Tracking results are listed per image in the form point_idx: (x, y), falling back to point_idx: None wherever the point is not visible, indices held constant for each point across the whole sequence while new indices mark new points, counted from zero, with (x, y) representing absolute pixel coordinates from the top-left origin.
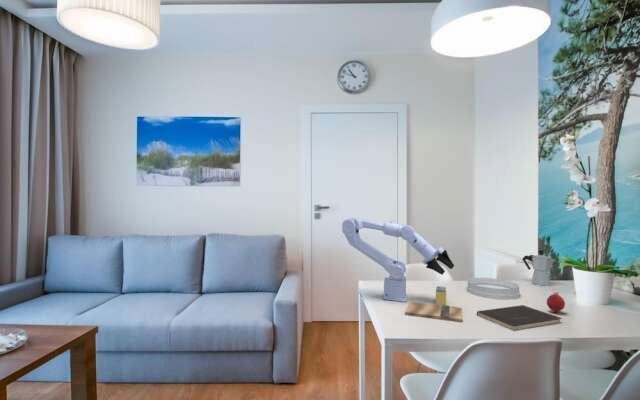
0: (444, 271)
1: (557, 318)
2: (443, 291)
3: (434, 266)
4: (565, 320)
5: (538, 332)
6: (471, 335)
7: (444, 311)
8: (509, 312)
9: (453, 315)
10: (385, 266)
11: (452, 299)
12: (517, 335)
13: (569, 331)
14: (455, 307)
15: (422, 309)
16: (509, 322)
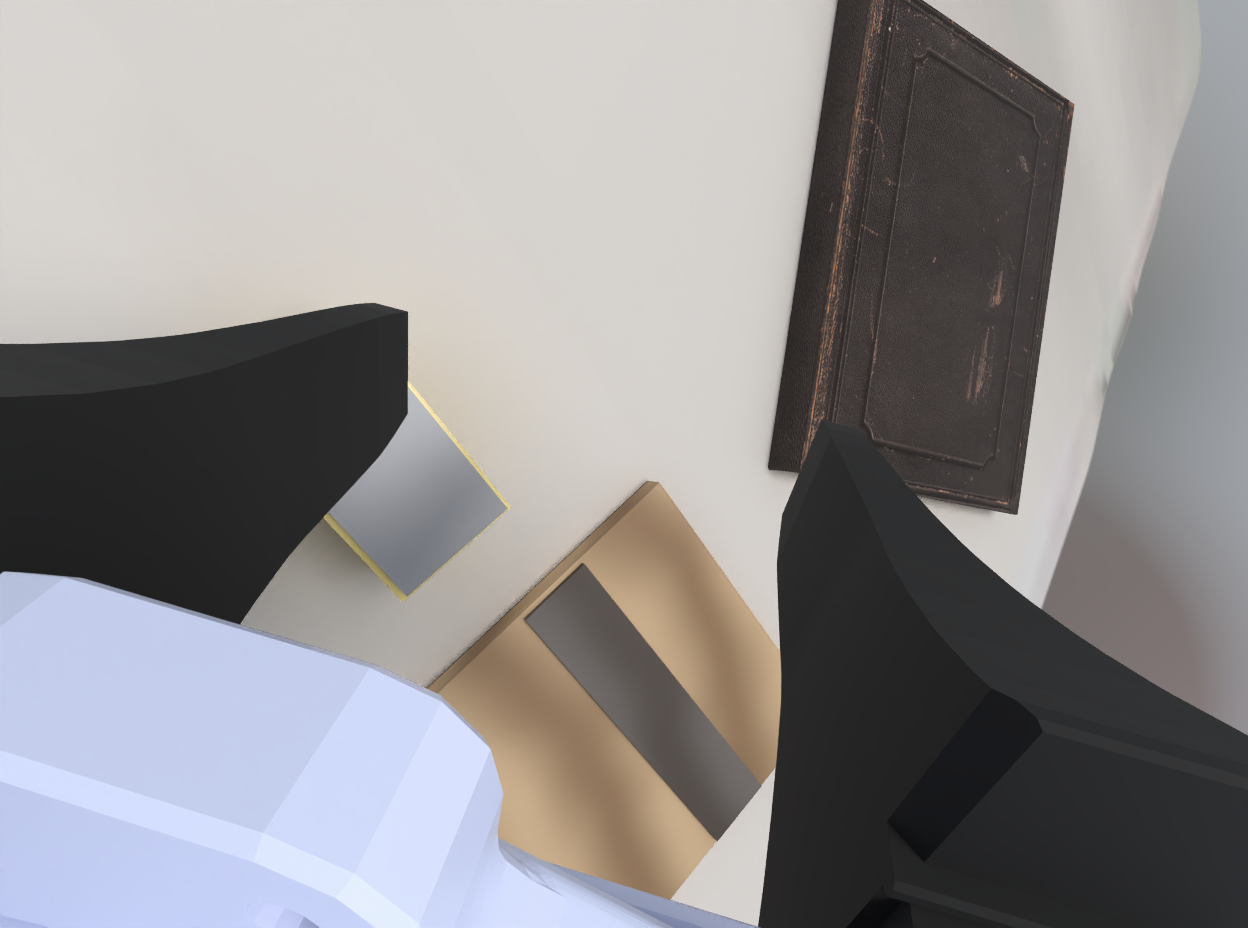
0: (402, 328)
1: (1069, 137)
2: (483, 525)
3: (224, 562)
4: (1039, 43)
5: (1045, 410)
6: None
7: (667, 734)
8: (913, 278)
9: (747, 716)
10: None
11: (331, 212)
12: (1021, 558)
13: (1094, 245)
14: (624, 528)
15: None
16: (991, 487)
